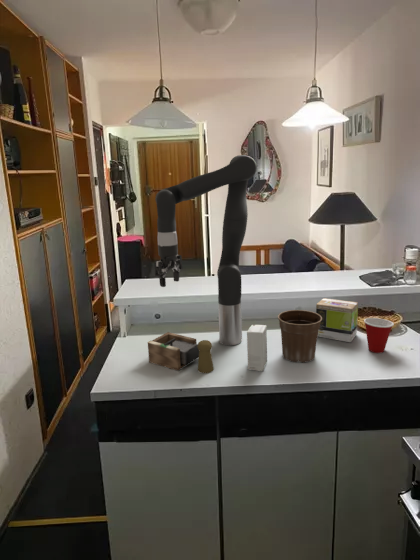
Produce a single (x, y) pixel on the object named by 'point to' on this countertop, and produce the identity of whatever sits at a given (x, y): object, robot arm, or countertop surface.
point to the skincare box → (257, 347)
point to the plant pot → (299, 334)
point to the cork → (205, 357)
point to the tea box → (337, 319)
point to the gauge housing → (167, 351)
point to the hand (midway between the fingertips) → (169, 283)
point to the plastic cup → (377, 333)
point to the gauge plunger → (185, 350)
